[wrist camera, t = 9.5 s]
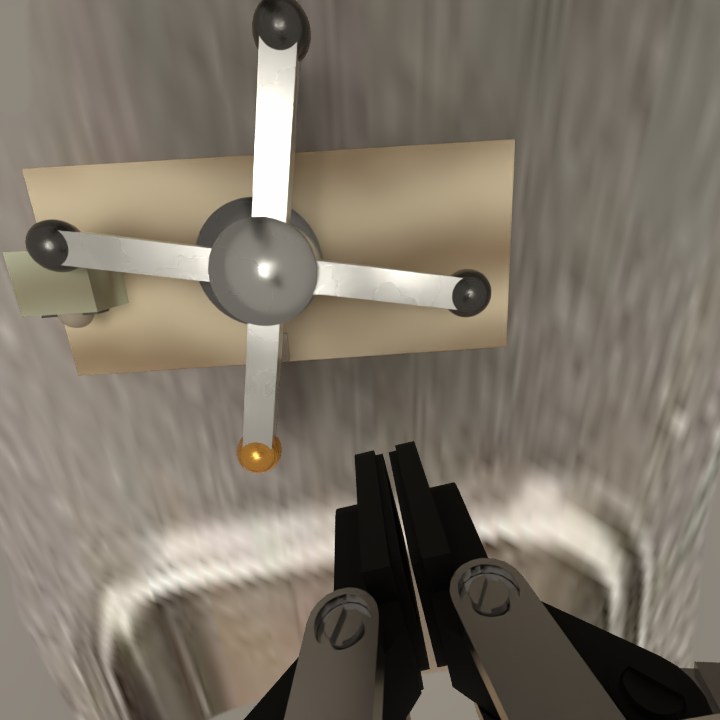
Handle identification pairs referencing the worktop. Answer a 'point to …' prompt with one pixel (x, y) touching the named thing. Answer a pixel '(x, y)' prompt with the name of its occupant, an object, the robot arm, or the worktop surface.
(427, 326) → the board
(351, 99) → the worktop surface
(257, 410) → the capstan
